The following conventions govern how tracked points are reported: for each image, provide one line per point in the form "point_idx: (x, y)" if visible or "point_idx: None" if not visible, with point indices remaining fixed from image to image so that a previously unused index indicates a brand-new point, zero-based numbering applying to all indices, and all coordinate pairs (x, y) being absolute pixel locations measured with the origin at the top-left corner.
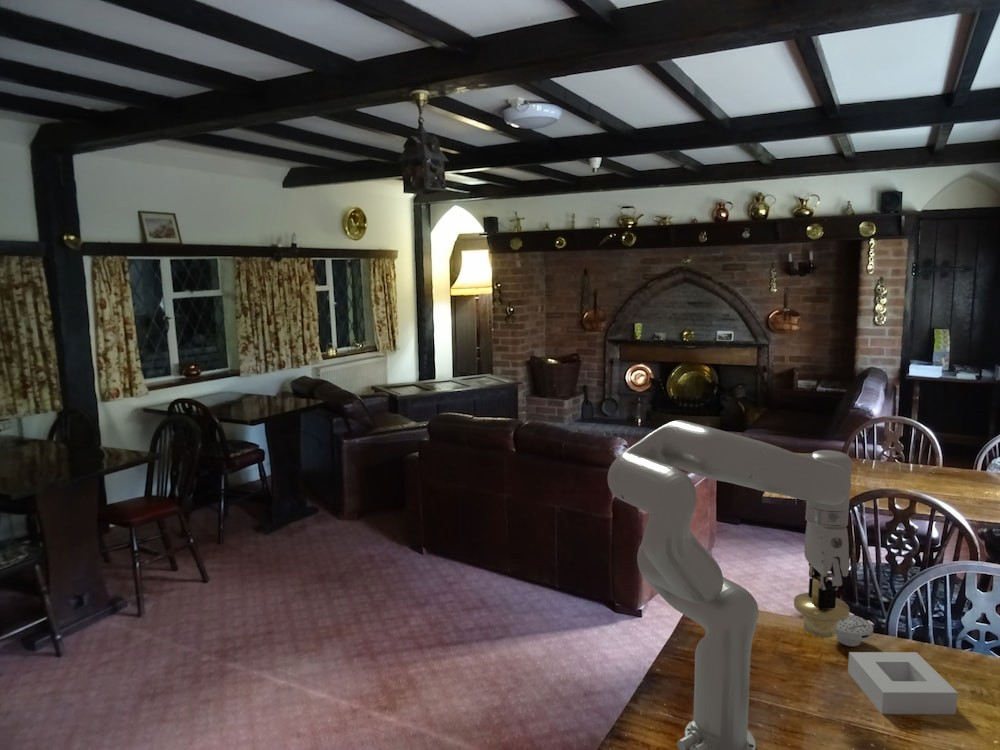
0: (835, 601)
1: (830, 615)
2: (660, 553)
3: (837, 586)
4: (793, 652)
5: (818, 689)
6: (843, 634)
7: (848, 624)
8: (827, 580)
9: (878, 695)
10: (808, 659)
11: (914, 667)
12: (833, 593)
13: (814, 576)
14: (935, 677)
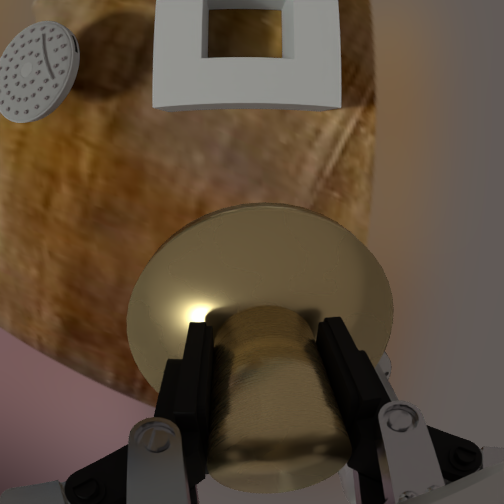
0: (351, 337)
1: (379, 342)
2: None
3: (466, 443)
4: (78, 196)
5: (212, 190)
6: (64, 93)
7: (36, 75)
8: (285, 450)
9: (315, 107)
10: (100, 172)
11: None
12: (390, 399)
13: (203, 478)
14: None
